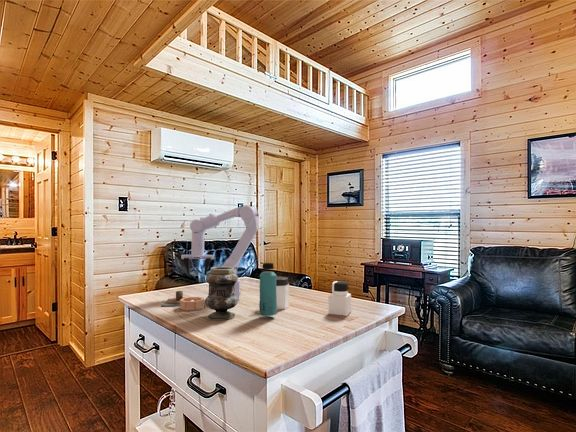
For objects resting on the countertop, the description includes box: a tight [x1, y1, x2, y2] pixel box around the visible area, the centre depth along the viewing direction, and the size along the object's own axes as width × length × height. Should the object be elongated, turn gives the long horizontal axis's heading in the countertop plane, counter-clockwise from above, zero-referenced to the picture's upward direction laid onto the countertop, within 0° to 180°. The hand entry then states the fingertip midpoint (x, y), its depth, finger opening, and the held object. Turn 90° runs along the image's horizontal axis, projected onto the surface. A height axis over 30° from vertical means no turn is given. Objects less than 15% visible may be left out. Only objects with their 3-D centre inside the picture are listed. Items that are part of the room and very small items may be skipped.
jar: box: [276, 275, 290, 310], centre depth 136 cm, size 9×8×12 cm
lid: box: [166, 290, 186, 304], centre depth 142 cm, size 10×10×4 cm
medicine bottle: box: [328, 280, 352, 317], centre depth 127 cm, size 7×7×12 cm
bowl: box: [179, 296, 205, 312], centre depth 134 cm, size 9×9×4 cm
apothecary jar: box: [204, 266, 239, 321], centre depth 122 cm, size 12×12×18 cm
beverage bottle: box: [258, 262, 278, 317], centre depth 121 cm, size 6×7×20 cm
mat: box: [160, 298, 180, 308], centre depth 142 cm, size 12×12×1 cm
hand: (197, 274), depth 154 cm, fingers open, 7 cm apart
